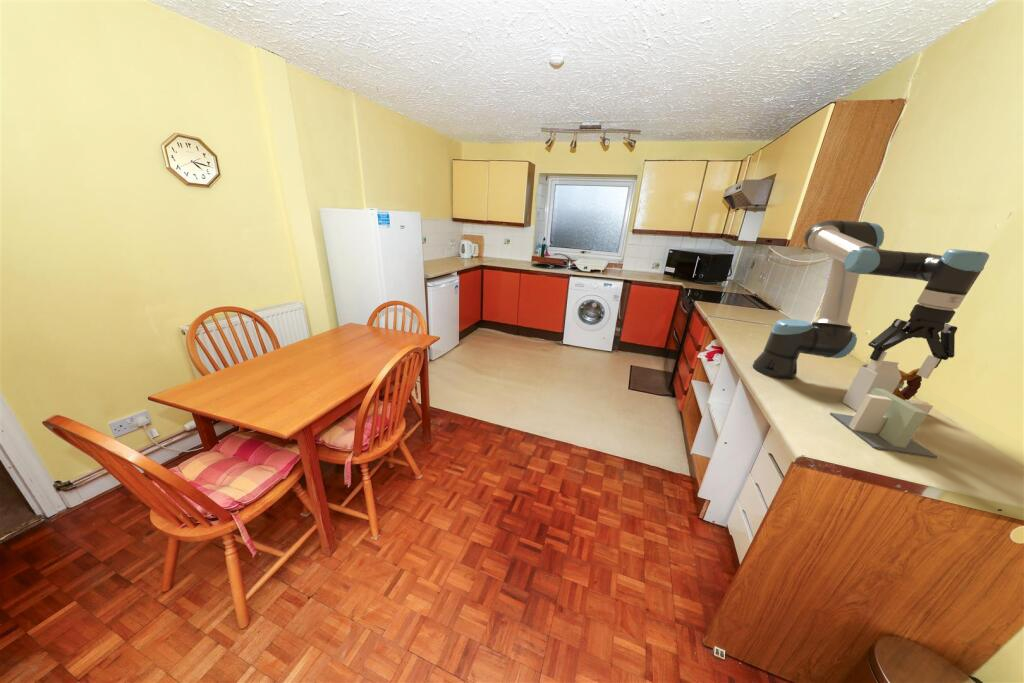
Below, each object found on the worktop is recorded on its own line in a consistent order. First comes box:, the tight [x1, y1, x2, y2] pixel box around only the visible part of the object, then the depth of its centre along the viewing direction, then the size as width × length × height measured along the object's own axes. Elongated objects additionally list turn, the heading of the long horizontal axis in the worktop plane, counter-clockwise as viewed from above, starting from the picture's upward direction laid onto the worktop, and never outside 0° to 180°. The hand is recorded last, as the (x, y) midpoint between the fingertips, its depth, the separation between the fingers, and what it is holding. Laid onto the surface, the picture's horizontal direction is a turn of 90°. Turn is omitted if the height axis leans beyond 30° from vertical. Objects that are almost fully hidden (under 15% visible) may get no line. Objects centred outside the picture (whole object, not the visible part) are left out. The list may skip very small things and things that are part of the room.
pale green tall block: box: [870, 388, 929, 448], centre depth 100 cm, size 14×3×12 cm, turn 170°
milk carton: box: [842, 360, 902, 413], centre depth 114 cm, size 7×7×19 cm
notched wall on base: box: [829, 394, 939, 459], centre depth 100 cm, size 16×18×13 cm
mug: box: [893, 367, 923, 401], centre depth 122 cm, size 11×16×15 cm, turn 71°
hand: (896, 373), depth 100 cm, fingers open, 13 cm apart
